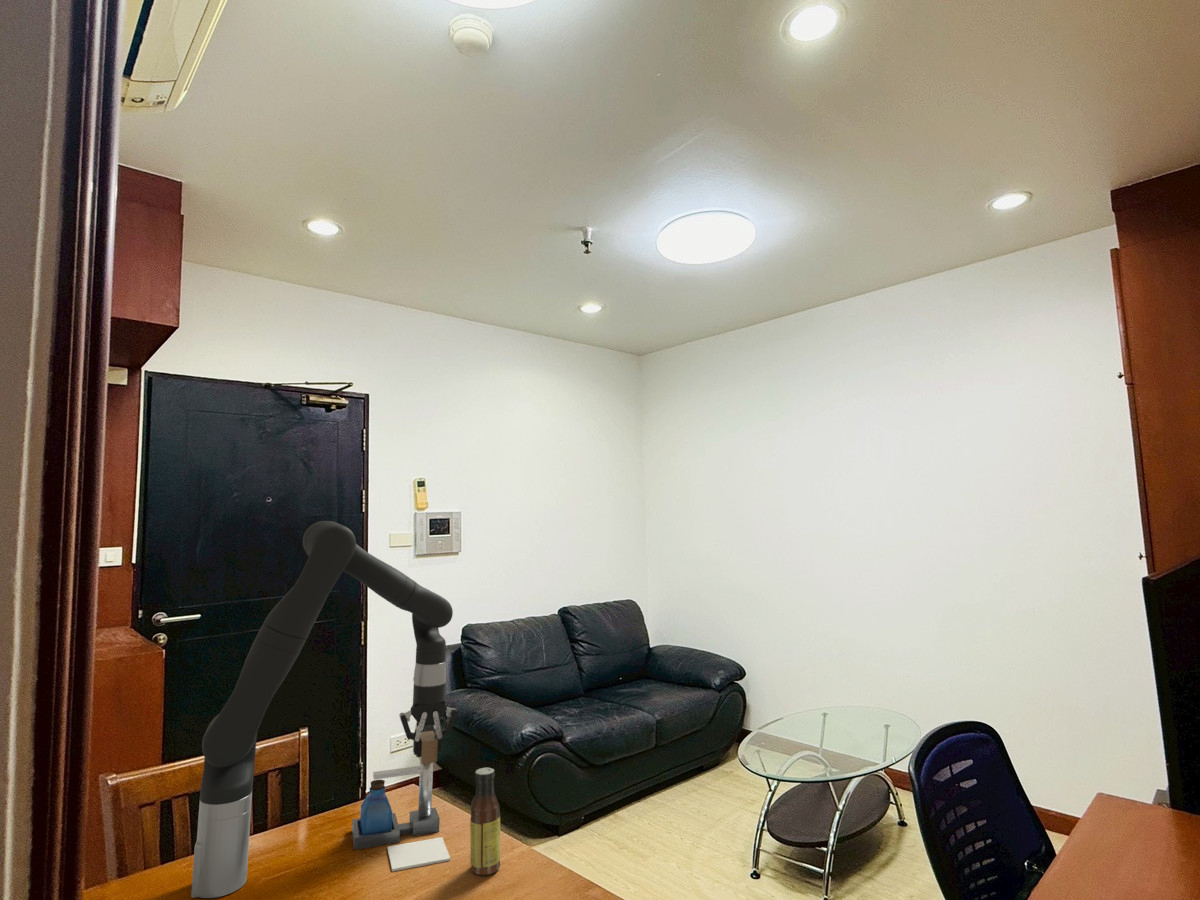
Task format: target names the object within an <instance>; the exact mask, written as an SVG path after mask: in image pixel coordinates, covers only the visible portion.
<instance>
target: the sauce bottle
mask: <svg viewBox="0 0 1200 900" xmlns="http://www.w3.org/2000/svg"><path fill="white" fill-rule="evenodd" d="M474 776H475V777H474V778H475V795H474V796H473V798H472V800H471V803H470V825H469V826H470V834H469V835H470V837H469V838H470V855H469V856H470V866H471V871H472V872H473V874H476V875H479V876H490V875H492V874H495V873H496V872H498V870H499V868H500V866H501V857H502V856H501V855H502V854H501V812H500V811H501V810H500V804H499V801H498V799H497V796H496V793H495V786H494V785H495V782H494V781H495V780H494V779H495V777H496V772H495V769H494V768H493V767H492V768H491V767H482V768H478V769H476V770H475V774H474Z"/></svg>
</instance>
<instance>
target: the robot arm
mask: <svg viewBox="0 0 1200 900" xmlns="http://www.w3.org/2000/svg"><path fill="white" fill-rule="evenodd" d="M302 546H303V550H304V552H305V553H306V554H307V556H308V558H307V561H306V562H305V565H304V566H303V569H302V571H301V573H300V576H298V577H299V578H298V579H297V580H296V581H295V583H294V585H293V586H292V587H291V588H290V590H288V592H286V593H285V595H284V596H283V597H282V598H281V599H280V600H279V601H278V602H277V603H276V604H275V606H274V607H273V608H272V609H271V611H270V612H269V613H268V615H267V616H266V618H265V620H264V621H263V623H262V624H261V627H260V629H259V631H258V633H257V635H256V636H255V638H254V639H253V643H252V645H251V646H250V649H249V652H248V653H247V656H246V658H245V661H244V663H243V666H242V667H241V668H242V669H241V671H240V674H239V677H238V680H237V681H236V685H235V687H234V689H233V691H232V692H231V695H230V696H229V698H228V699H227V701H226V703H225V704H224V706H223V708H222V709H221V711H220V712H219V713H218V714H217V715H216V716H214V717H213V719H212V720H211V721H210V723H209V724H208V726H207V728H206V731H205V733H204V734H203V737H202V742H201V750H202V754H203V757H204V761H203V769H202V770H203V771H202V776H201V781H200V782H201V784H200V788H199V789H200V791H199V806H198V808H199V809H198V819H197V833H196V842H195V845H194V849H193V850H194V851H193V852H194V854H193V862H192V863H193V867H192V878H191V880H192V881H191V895H190V898H193V899H194V898H200V899H201V898H202V899H215V898H221V897H224V896H226V895H229V894H232V893H234V892H236V891H238V890H239V889H241V888H242V887H243V886H244V885H246V883H247V878H248V868H249V867H248V864H249V863H248V862H249V849H250V848H249V847H250V833H251V832H250V831H251V818H252V817H251V816H252V798H253V784H254V783H253V782H254V775H255V767H256V765H255V763H256V750H257V748H256V747H257V736H258V731H259V728H260V726H261V724H262V721H263V718H264V716H265V713H266V712H267V710H268V707H269V705H270V704H271V702H272V700H273V698H274V696H275V694H276V692H277V691H278V689H279V688H280V686H281V685H282V683H283V681H284V680H285V678H286V677H287V676H288V674H289V672H290V670H291V669H292V667H293V665H294V664H295V663H296V661H297V658H298V656H299V655H300V653H301V651H302V649H303V647H304V645H305V643H306V641H307V639H308V637H309V635H310V633H311V630H312V628H313V627H314V625H315V622H316V621H317V619H318V616H320V613H321V612H322V608H323V607H324V605H325V602H326V601H327V600H328V597H329V594H330V593H331V591H332V590H333V588H334V586H335V585H336V583H337V581H338V580H339V579H340V576H341V575H342V573H343V572H344V573H346V574H348V575H350V576H351V577H353V578H354V579H356V580H357V581H359V582H360V583H362V585H365V586H366V587H368V588H369V589H370V590H371V591H373V592H374V593H375V594H377V595H378V596H379V597H381V599H382V598H383V599H384V600H385V601H387V602H388V603H390V604H391V605H393V606H395V607H397V608H398V609H400V610H403V611H407V612H409V613H411V620H412V627H413V633H414V639H415V643H416V649H415V663H414V664H415V666H414V670H413V679H412V681H413V689H412V690H413V691H412V704H411V707H410V710H408V711H405V712H400V713H399V720H400V722H401V725H402V727H403V730H404V733H405V735H406V739H407V740H409V741H410V740H412V741H413V742H412V743H413V746H412V748H413V749H412V752H413V754H414V755H415V757H416V758H419V757H420V742H421V741H420V737H421V733H422V732H424V728H425V727H427V726H433V730H434V734H435V736H436V737H437V739H438V747H437V756H438V755H439V753H440V752H441V751H442V739H443V737H446V736H449V735H450V733H451V731H452V728H453V725H454V723H455V720H456V719H457V718H456V717H457V716H458V715H457V714H458V711H457V708H455V707H448V706H447V704H446V685H447V666H446V654H447V645H446V644H447V642H446V639H445V638H444V637H443V636H442V635H441V634H440V631H439V629H440V628H442V627H445V626H447V625H448V624H449V623H450V622H451V621H452V618H453V614H454V613H453V612H454V611H453V607H452V605H451V603H450V602H449V601H448V600H447V599H446V598H445V597H443V596H441V595H439V594H437V593H436V592H435V591H431V590H430V589H428V588H425V587H423V586H422V585H421V584H419V583H418V582H417V581H415V580H414V579H412V578H411V577H409V576H408V575H406V574H405V573H403V572H402V571H400V570H398V569H397V568H395V567H393V566H392V565H390V564H388V563H387V562H384V561H383V560H381V559H379V558H377V556H374V555H373V554H371V553H369V552H368V551H366V550H365V549H364V548H362V547H361V546H359V544H357V541H356V536H355V534H354V532H353V531H352V530H351V529H350V528H348V527H347V526H345V525H343V524H340V523H338V522H336V521H332V520H331V521H330V520H320V521H316V522H314V523H313V524H311V525H309V527H308V528H307V529H306V530H305V532H304V534H303V537H302ZM445 713H446V714H445ZM444 715H446V717H447V718H446V720H445V723H444V726H443V728H441V722H440V721H441V719H443V716H444ZM411 716H412V717H413V719H414V720H415V721H416V723H415V729H414V731H413V732H412V731H411V729H410V728H411V727H410V725H409V722H410V721H411Z"/></svg>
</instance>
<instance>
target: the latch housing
mask: <svg viewBox="0 0 1200 900" xmlns="http://www.w3.org/2000/svg"><path fill="white" fill-rule="evenodd" d="M439 815H440V814H439V813H438V810H437V808H436V807H431V814H430V815H428V816H419V815H418V809H417V810H411V811H409V822H403V823H399V822H398V818H397V815H396V813H395V812H392V830H388V831H382V832H376V833H370V834H364V835H360V817H359V818H354V819H352V821H351V822H352V825H351V833H352V842H353V843H352V844H353V850H354V851H357V850H362V849H368V848H374V847H379V846H386V845H391V844H396V843H400V836H403V835H409V834H411V835H412V837H415V836H420V835H421V836H422V835H427V834H428V835H429V834H434V833H438V832H440V821H441V819H440V816H439Z"/></svg>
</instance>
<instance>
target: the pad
mask: <svg viewBox="0 0 1200 900" xmlns="http://www.w3.org/2000/svg"><path fill="white" fill-rule="evenodd" d="M387 855H388V859H389V863H390V869H391V872H392V873H393V872H396V871H398V872H399V871H403V870H408V869H413V868H418V867H424V866H429V865H435V864H439V863H445V862H449V861H451V856H450V853H449V851H448V848H447V845H446V843H445V841H444V838H443V836H440V837H434V838H429V839H425V840H424V839H423V840H418V841H413V842H412V841H411V842H408V843H401V844H394V845H390V846H387Z"/></svg>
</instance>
